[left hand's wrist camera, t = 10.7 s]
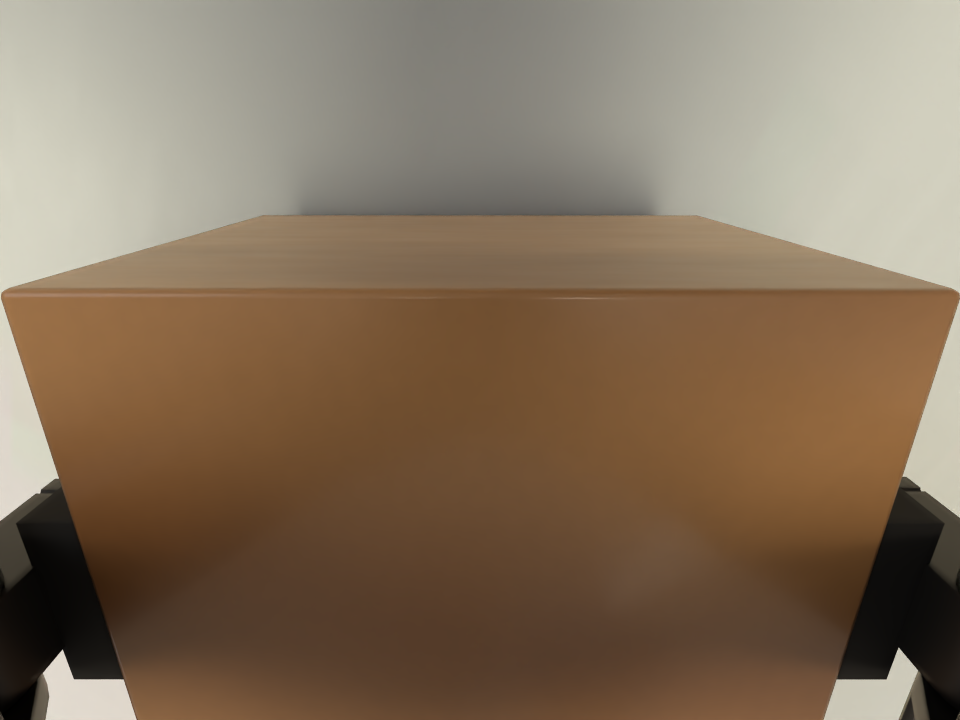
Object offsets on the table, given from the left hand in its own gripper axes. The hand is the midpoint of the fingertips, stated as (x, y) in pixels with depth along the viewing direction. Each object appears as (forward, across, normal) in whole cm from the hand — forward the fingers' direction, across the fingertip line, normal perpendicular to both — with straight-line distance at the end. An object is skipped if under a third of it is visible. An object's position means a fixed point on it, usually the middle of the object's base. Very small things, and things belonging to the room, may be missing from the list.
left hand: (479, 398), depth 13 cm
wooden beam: (+1, 0, -23) cm, 23 cm away
